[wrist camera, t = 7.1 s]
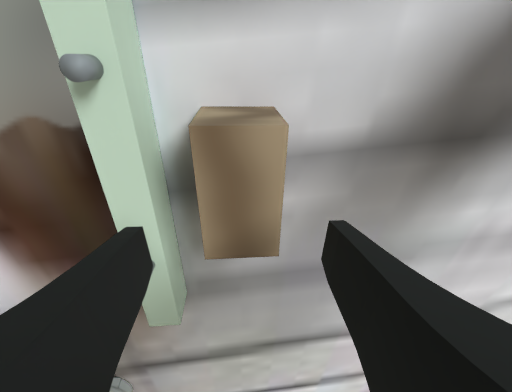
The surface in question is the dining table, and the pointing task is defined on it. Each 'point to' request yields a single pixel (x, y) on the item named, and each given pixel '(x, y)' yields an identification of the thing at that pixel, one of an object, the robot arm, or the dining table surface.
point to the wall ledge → (121, 133)
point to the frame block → (239, 179)
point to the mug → (120, 385)
